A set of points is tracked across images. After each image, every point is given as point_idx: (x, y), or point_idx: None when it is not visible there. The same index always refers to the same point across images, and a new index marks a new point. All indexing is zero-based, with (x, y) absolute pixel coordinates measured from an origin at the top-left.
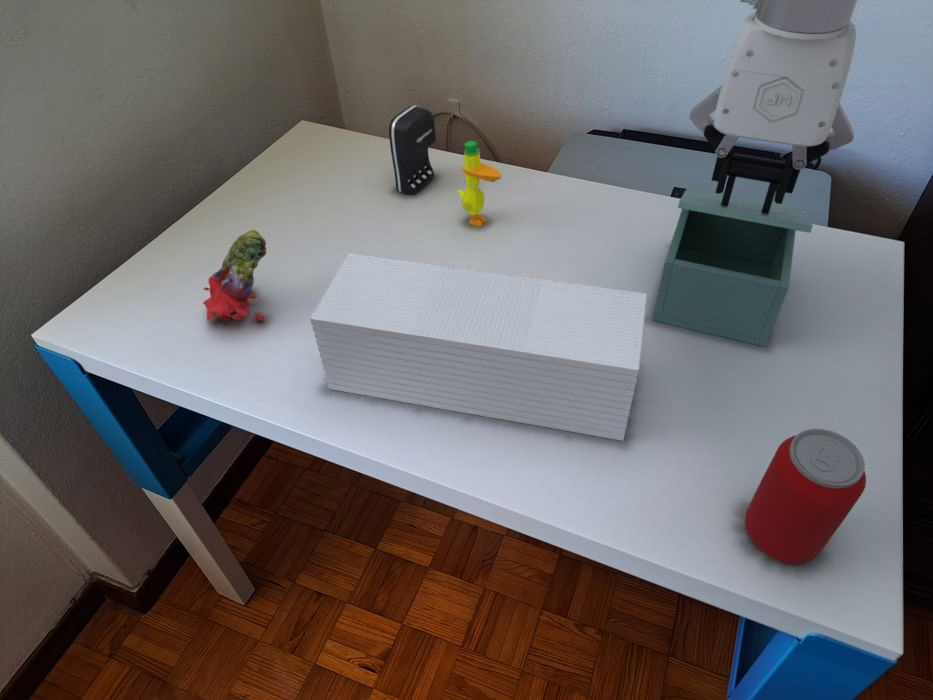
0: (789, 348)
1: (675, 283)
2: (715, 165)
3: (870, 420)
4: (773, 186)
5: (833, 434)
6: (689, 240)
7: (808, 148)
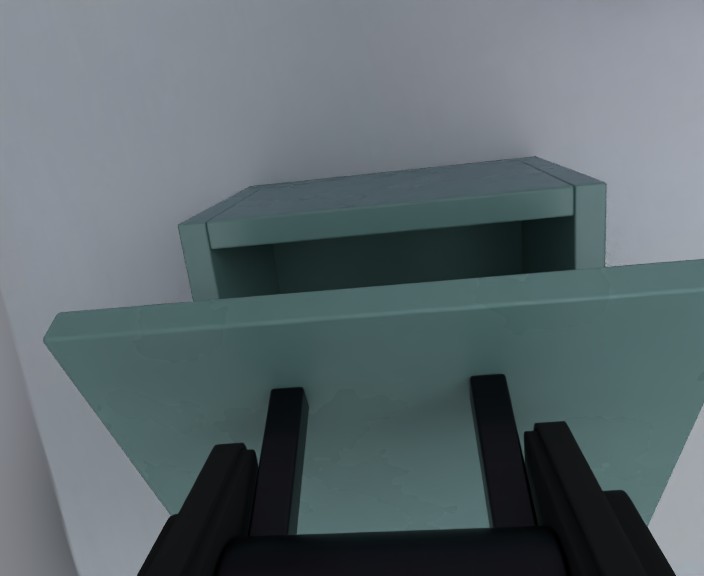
0: (197, 208)
1: (529, 177)
2: (666, 563)
3: None
4: (266, 516)
5: None
6: None
7: None
